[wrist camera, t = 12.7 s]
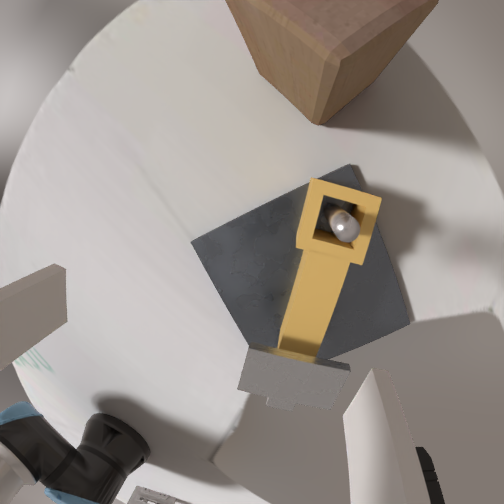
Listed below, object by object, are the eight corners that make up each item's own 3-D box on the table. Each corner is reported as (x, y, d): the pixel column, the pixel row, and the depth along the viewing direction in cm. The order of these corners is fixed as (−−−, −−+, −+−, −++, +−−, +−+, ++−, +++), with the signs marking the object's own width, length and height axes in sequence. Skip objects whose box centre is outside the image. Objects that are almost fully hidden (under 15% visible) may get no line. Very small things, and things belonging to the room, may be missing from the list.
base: (270, 374, 39) (259, 432, 28) (193, 240, 35) (151, 267, 25) (407, 320, 34) (438, 369, 23) (348, 164, 30) (372, 159, 20)
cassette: (176, 496, 55) (167, 517, 48) (177, 499, 55) (168, 519, 48) (136, 484, 57) (126, 503, 49) (138, 487, 57) (128, 506, 50)
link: (310, 177, 30) (313, 178, 25) (367, 193, 30) (382, 198, 24) (270, 326, 36) (265, 353, 30) (320, 338, 35) (322, 367, 29)
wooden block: (315, 23, 26) (320, -94, 7) (377, 79, 27) (451, -9, 8) (254, 71, 29) (200, -31, 10) (317, 130, 30) (342, 67, 11)
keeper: (262, 302, 36) (248, 348, 26) (339, 322, 35) (350, 371, 25) (248, 354, 38) (232, 404, 28) (319, 371, 37) (321, 424, 28)
